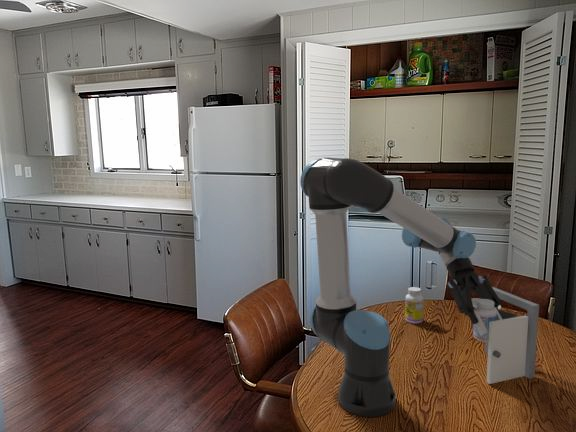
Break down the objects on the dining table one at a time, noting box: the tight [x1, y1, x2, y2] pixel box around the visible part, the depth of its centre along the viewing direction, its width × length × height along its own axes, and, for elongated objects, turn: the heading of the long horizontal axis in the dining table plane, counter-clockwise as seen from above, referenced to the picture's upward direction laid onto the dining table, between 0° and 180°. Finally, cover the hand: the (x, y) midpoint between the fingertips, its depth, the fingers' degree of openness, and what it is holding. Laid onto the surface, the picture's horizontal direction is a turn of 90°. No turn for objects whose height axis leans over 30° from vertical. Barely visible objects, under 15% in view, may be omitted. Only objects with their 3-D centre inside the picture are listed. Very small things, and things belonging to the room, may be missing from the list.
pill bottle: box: [472, 298, 497, 343], centre depth 130 cm, size 6×6×11 cm
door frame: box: [484, 286, 540, 380], centre depth 135 cm, size 2×18×22 cm, turn 18°
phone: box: [499, 309, 518, 320], centre depth 172 cm, size 8×1×15 cm
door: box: [486, 315, 528, 385], centre depth 126 cm, size 13×2×18 cm, turn 108°
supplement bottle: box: [404, 286, 424, 325], centre depth 171 cm, size 7×7×13 cm
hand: (493, 331), depth 126 cm, fingers closed on pill bottle, 6 cm apart
